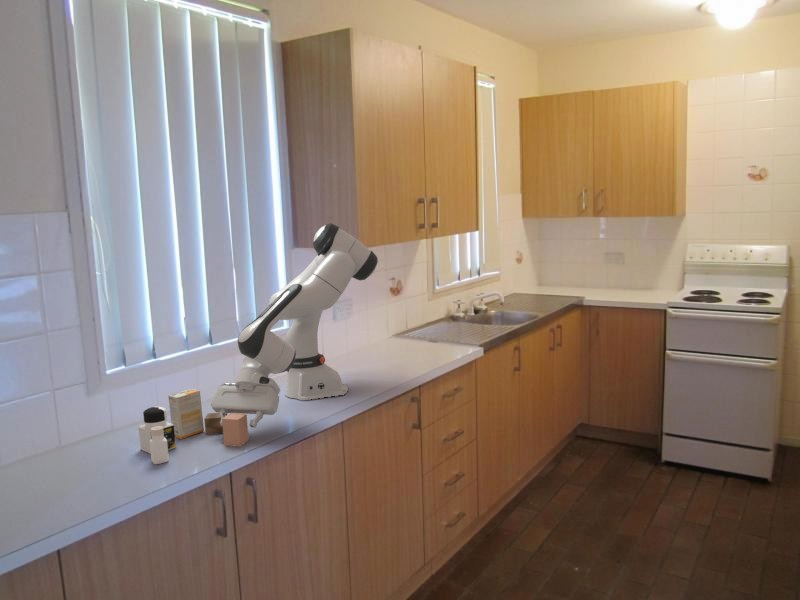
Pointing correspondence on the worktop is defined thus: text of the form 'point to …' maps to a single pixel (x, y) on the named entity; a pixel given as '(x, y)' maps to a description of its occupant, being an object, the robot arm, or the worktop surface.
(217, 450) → the worktop surface
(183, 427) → the supplement box
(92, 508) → the worktop surface
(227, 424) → the terracotta block
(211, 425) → the walnut block
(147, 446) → the medicine bottle
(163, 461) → the pepper shaker
